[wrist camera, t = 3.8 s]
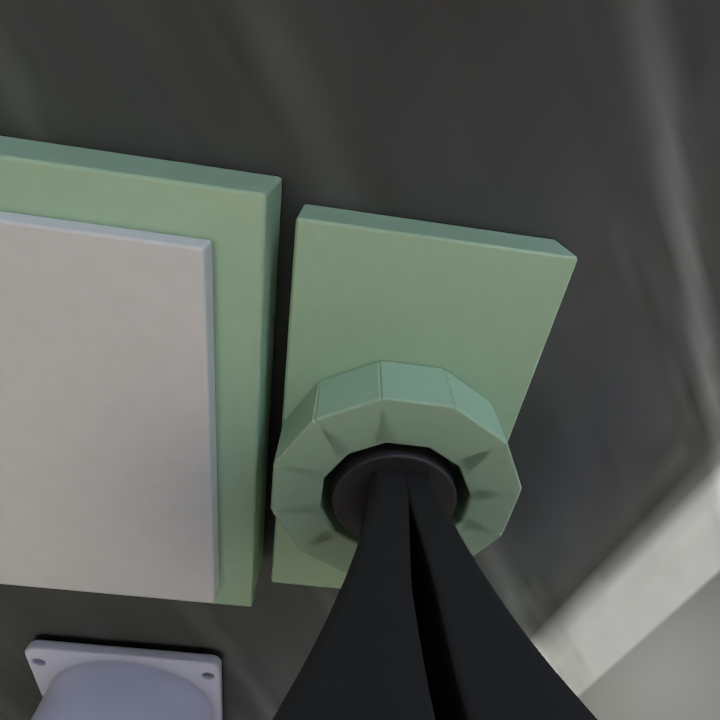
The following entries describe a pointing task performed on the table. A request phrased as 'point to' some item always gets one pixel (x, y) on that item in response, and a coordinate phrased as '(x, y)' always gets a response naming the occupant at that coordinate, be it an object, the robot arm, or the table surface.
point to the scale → (134, 372)
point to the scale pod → (405, 368)
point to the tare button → (391, 457)
